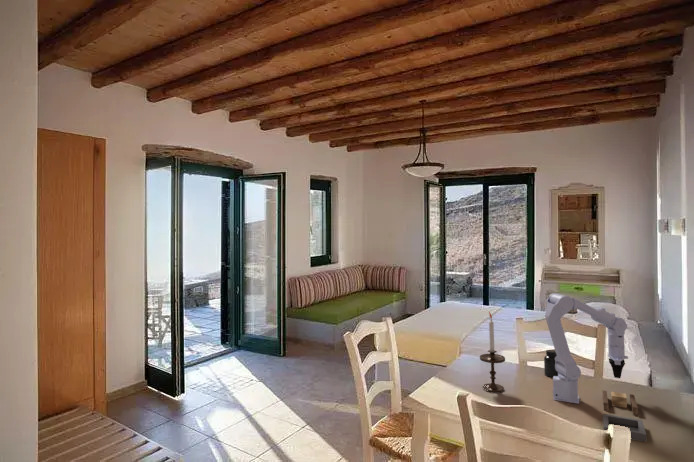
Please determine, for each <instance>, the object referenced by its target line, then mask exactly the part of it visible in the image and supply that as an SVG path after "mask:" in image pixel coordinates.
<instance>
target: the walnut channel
mask: <svg viewBox="0 0 694 462" xmlns="http://www.w3.org/2000/svg"><path fill="white" fill-rule="evenodd" d="M629 403H630V407H631V408H630V409H631V413H632V416H637V417H638V416H639V415H638V414H639V407H638V404H637V401H636V397H635V394H631V393H630V394H629ZM602 405H603V411H607V412H609V399H608V390H602Z"/></svg>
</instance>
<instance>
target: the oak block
mask: <svg viewBox="0 0 694 462" xmlns="http://www.w3.org/2000/svg"><path fill="white" fill-rule="evenodd" d="M610 396H611V399H610V400H611V406H612V407H619V408H628V401H627V399H628V398H627V393H623V392H617V391H611V395H610Z"/></svg>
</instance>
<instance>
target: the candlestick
mask: <svg viewBox="0 0 694 462" xmlns="http://www.w3.org/2000/svg"><path fill="white" fill-rule="evenodd" d="M488 314H489V317H490V320H489V322H488V328H489V329H488V331H489V332H488V333H489V350H487V352H488V353H484V354H483V353H482V354H480V355H479V360H480V361H482V362H483V363H489V364H490V371H489V375H490V376H489V378H490V379H491V383H490V382H489V383H485V384H483V385H484V386H485V385H486V386H487V385H489V387H488V388H487V387H486V386H485V387H484V386H483V385H482V389H483V388H484V389H486V390H488V391H490V392H489V393H491V392H500V393H502V392H501V391H503V390H505V387H504V386H503V385H501V384H497V383H495V382H496V381H495V380H496V379H497V378H496V377H495V376H496V375H497V371H495V364H500V363H501V364H502V363H504V362H506V357H505V356H504V355H501V354H497V353H498V352H497V350H495V329H494V327H495V325H494V321H493V319H492V318H493V316H492V314H491V312H490V311H489V313H488ZM484 389H483V390H484ZM503 392H504V391H503Z"/></svg>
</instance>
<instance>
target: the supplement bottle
mask: <svg viewBox="0 0 694 462" xmlns="http://www.w3.org/2000/svg"><path fill="white" fill-rule="evenodd" d="M556 356H557V355H556V351H555V349H546V351H545V356H543V361H544V362H543V363H544V364H543V370H544V376H546V377H547V378H548V377H549V378H552V379H553V376H558V372H557V371H556V369H555V357H556Z"/></svg>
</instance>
